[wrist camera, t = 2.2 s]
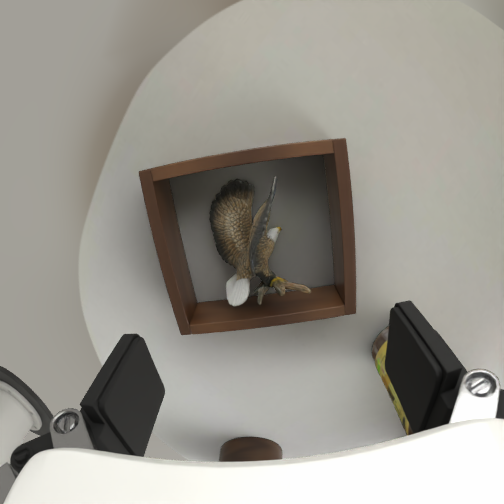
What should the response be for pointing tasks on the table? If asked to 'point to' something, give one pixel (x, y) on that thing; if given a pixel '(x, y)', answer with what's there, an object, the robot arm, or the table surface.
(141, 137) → the table surface
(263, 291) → the eagle figurine
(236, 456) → the stand
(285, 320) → the crate
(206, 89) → the table surface
